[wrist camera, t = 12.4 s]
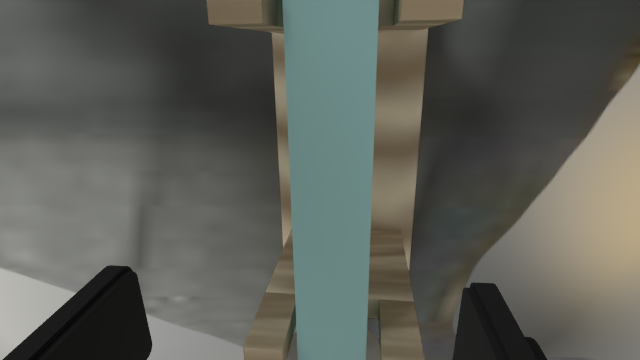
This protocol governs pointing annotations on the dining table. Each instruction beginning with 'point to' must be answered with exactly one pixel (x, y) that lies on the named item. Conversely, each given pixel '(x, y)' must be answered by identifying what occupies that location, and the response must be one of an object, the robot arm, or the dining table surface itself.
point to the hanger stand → (388, 171)
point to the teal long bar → (331, 172)
